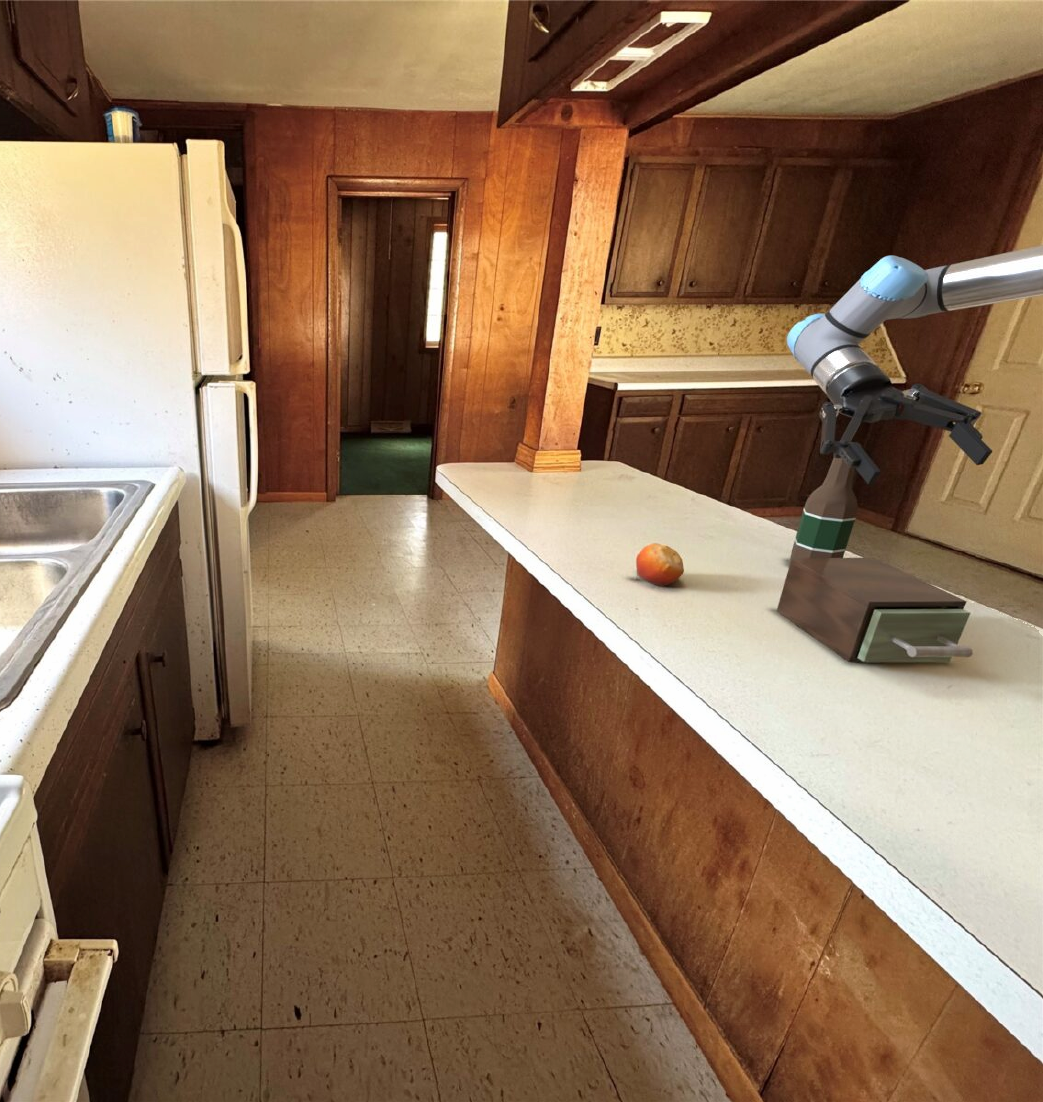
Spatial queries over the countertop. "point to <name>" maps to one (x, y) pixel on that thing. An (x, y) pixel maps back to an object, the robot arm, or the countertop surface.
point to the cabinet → (850, 598)
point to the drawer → (914, 635)
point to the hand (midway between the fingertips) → (928, 468)
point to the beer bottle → (828, 516)
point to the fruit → (659, 564)
